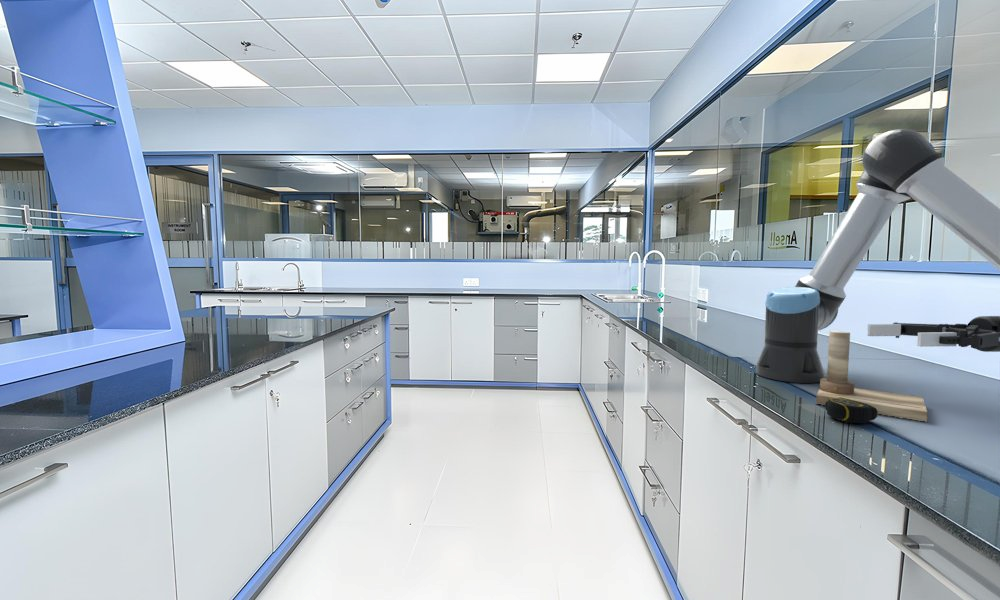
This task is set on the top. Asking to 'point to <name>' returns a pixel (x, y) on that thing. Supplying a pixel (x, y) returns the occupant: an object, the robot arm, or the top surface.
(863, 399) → the board
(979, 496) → the top surface
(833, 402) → the tape measure
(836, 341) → the wooden peg with base
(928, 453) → the top surface
